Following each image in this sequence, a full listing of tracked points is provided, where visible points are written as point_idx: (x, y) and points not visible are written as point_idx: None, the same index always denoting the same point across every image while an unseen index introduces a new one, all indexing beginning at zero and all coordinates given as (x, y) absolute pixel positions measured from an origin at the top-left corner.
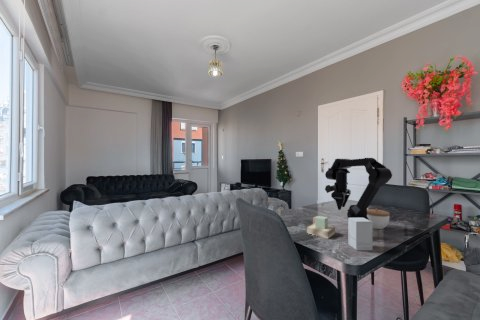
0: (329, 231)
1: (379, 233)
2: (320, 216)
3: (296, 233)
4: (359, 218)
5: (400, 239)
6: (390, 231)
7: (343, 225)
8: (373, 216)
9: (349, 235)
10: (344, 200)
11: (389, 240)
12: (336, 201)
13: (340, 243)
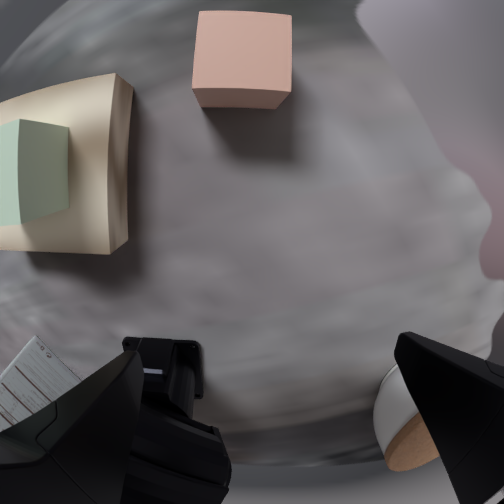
0: (17, 248)
1: (303, 414)
2: (10, 147)
3: (8, 70)
4: None
5: (262, 460)
6: (359, 425)
7: (369, 236)
8: (390, 434)
9: (9, 364)
10: (452, 421)
11: None
12: (17, 437)
13: (18, 305)
